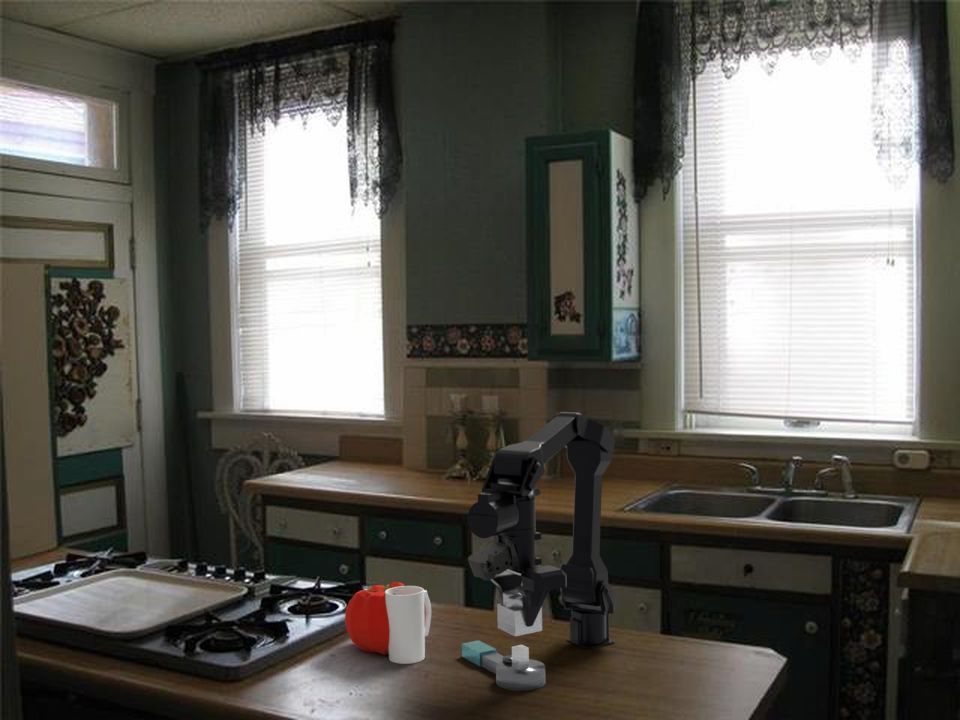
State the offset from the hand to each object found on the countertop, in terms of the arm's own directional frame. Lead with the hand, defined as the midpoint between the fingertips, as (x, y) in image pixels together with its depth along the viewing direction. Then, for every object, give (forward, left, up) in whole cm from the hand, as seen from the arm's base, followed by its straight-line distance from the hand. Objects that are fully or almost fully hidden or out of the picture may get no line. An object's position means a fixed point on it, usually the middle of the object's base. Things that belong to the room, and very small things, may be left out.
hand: (519, 622), depth 164 cm
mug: (+9, -21, -10) cm, 25 cm away
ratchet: (0, 0, -10) cm, 10 cm away
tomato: (+11, -27, -10) cm, 31 cm away
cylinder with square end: (0, 0, -1) cm, 1 cm away
